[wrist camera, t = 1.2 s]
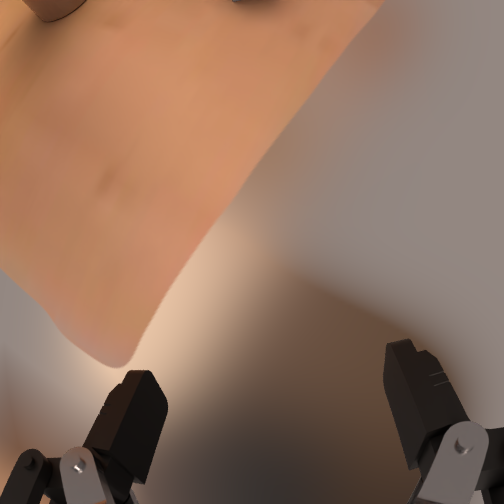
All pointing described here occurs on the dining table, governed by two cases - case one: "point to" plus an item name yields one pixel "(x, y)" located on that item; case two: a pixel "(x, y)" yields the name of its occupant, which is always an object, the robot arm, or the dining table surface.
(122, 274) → the dining table surface
